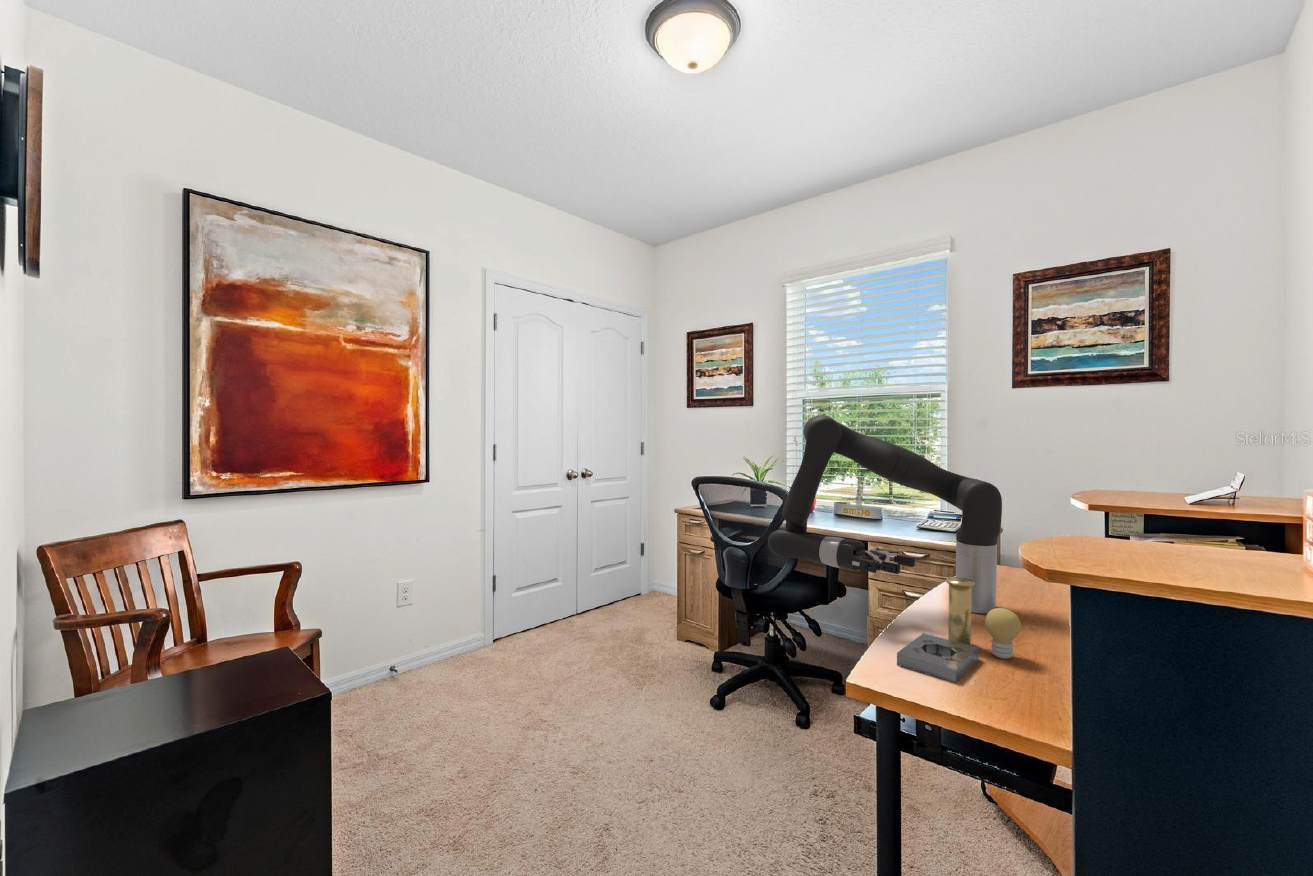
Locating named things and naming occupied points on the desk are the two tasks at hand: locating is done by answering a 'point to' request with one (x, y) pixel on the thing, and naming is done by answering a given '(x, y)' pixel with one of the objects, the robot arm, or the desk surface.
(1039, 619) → the desk surface
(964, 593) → the rivet
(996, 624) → the light bulb
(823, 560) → the robot arm
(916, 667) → the jig
